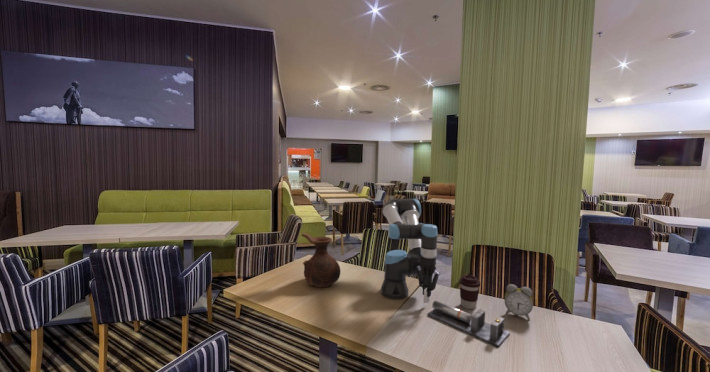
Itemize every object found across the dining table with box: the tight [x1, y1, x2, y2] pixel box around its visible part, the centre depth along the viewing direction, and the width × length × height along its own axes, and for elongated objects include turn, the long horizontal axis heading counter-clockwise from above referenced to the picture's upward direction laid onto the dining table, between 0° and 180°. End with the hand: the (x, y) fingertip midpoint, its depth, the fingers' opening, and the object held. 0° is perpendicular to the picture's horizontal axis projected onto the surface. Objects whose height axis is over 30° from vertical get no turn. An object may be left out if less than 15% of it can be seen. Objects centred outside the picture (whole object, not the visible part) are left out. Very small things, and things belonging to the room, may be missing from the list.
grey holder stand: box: [427, 308, 511, 348], centre depth 130 cm, size 32×13×8 cm, turn 44°
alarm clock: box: [504, 283, 534, 321], centre depth 138 cm, size 12×7×15 cm, turn 62°
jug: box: [301, 232, 341, 288], centre depth 170 cm, size 22×22×30 cm
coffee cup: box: [458, 274, 481, 310], centre depth 147 cm, size 10×10×15 cm
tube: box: [431, 300, 473, 324], centre depth 135 cm, size 18×4×4 cm, turn 44°
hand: (426, 301), depth 145 cm, fingers closed
